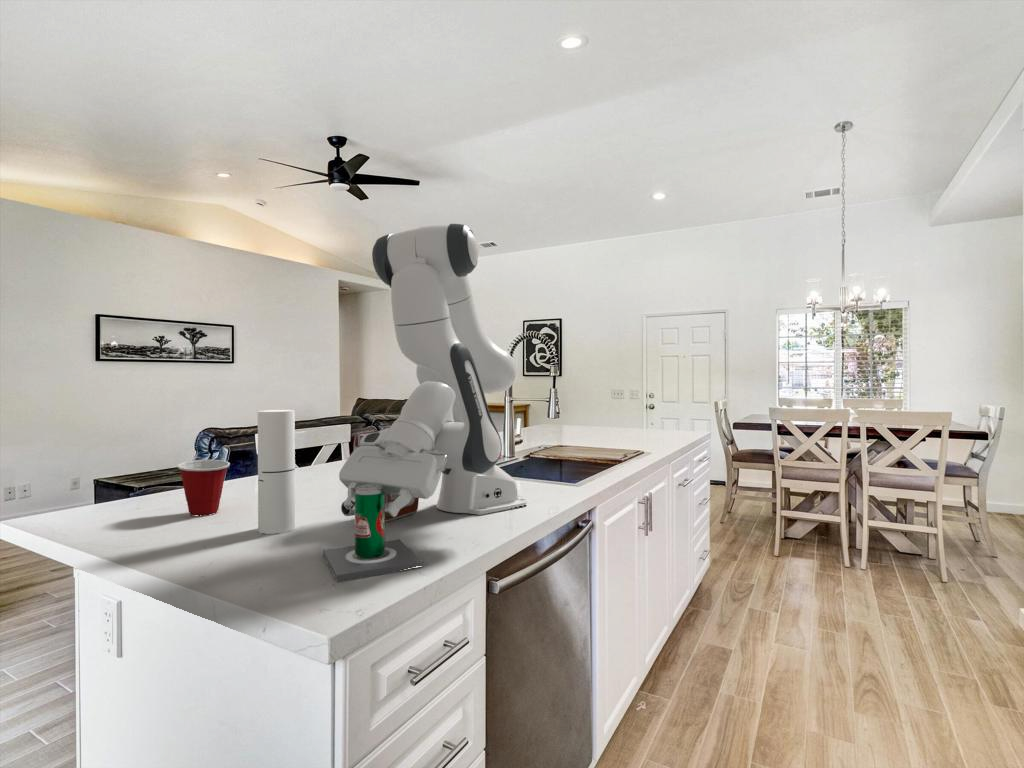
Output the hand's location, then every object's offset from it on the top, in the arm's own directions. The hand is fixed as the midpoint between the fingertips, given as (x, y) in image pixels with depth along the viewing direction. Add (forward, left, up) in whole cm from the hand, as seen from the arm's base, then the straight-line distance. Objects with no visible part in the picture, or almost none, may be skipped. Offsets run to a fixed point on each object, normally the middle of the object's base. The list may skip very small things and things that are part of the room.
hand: (368, 511), depth 94 cm
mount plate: (-1, 0, -9) cm, 9 cm away
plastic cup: (+26, -51, -9) cm, 59 cm away
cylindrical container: (+12, -29, -9) cm, 33 cm away
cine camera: (-9, -27, -9) cm, 30 cm away
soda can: (0, 0, -8) cm, 8 cm away
